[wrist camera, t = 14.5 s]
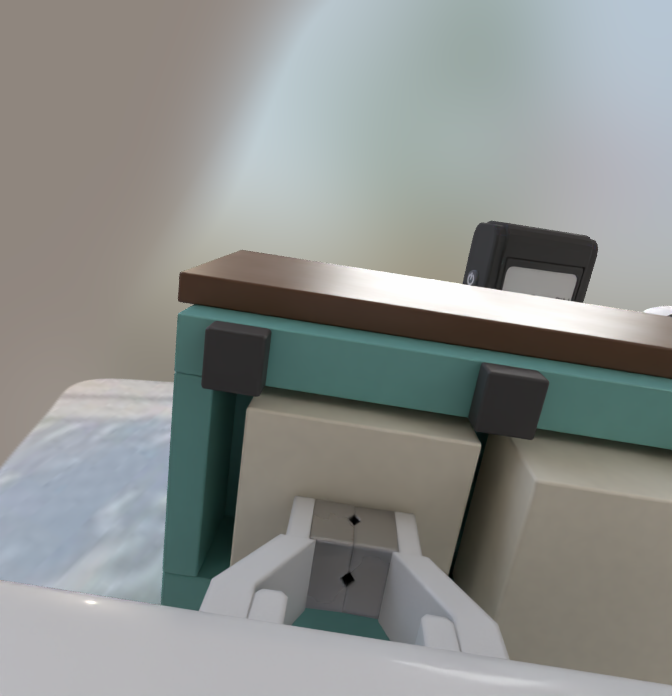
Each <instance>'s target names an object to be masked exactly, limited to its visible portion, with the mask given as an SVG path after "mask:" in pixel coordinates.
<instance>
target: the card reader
mask: <svg viewBox="0 0 672 696" xmlns="http://www.w3.org/2000/svg"><path fill="white" fill-rule="evenodd" d="M597 252H598V246H597V243H596V241H594V240H592V239H590V237H588V236H585V235H579V234H573V233H567V232H560V231H554V230H547V229H541V228H535V227H529V226H523V225H516V224H510V223H503V222H496V221H489V222H487V223H480V224H479V225H478V226H477V228H476V230H475V232H474V236H473V240H472V244H471V249H470V253H469V257H468V262H467V266H466V271H465V275H464V280H463V284H464V285H470V286H477V287H483V288H490V289H496V290H502V291H509V292H515V293H522V294H528V295H535V296H541V297H547V298H554V299H560V300H567V301H573V302H579V303H583V301H584V298H585V294H586V291H587V288H588V284H589V281H590V278H591V274H592V271H593V267H594V264H595V261H596V257H597Z"/></svg>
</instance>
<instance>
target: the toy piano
mask: <svg viewBox="0 0 672 696" xmlns="http://www.w3.org/2000/svg"><path fill="white" fill-rule="evenodd" d="M178 301H179V302H183V303H190V304H194V305H193V306H191V307H189V308H187V309H185V310H184V311H182V312H180V313H179V314H178V320H177V337H176V353H175V374H174V390H173V407H172V423H171V440H170V456H169V473H168V489H167V506H166V522H165V539H164V555H163V576H162V592H161V605H164V606H170V607H176V608H183V609H189V610H196V611H199V609H200V607H201V604H202V602H203V600H204V597H205V595H206V592H207V590H208V587H209V585H210V582H211V580H212V578H214V577H215V576H217V575H219V574H220V573H222V572H223V571H225V570H226V569H228V568H229V567H230V560H231V551H232V542H233V532H234V523H235V513H236V504H237V495H238V485H239V476H240V466H241V457H242V448H243V438H244V429H245V419H246V410H247V408H248V406H249V404H250V402H251V401H252V399H253V397H258V396H260V394H261V392H262V390H263V388H264V387H265V386H269V387H275V388H282V389H288V390H295V391H301V392H307V393H314V394H320V395H326V396H333V397H339V398H346V399H352V400H358V401H365V402H371V403H377V404H384V405H390V406H397V407H403V408H409V409H416V410H422V411H428V412H435V413H441V414H448V415H454V416H460V417H467V418H468V419H469V421H470V423H471V425H472V427H473V429H474V431H475V433H476V435H477V437H478V439H479V441H480V443H481V450H480V454H479V458H478V462H477V466H476V470H475V473H474V477H473V481H472V485H471V489H470V493H469V497H468V501H467V505H466V509H465V512H464V516H463V520H462V524H461V528H460V532H459V536H458V540H457V544H456V547H455V551H454V555H453V559H452V563H451V567H450V571H449V575H448V577H449V578H451V579H452V580H453V581H454V578H453V574H452V573H453V569H454V565H455V561H456V558H457V554H458V550H459V546H460V542H461V538H462V534H463V530H464V527H465V523H466V519H467V515H468V511H469V507H470V503H471V500H472V496H473V492H474V488H475V484H476V480H477V476H478V473H479V469H480V465H481V461H482V457H483V453H484V449H485V446H486V442H487V438H488V434H495V435H501V436H508V437H514V438H520V439H527V440H533V439H534V436H535V432H536V429H543V430H550V431H556V432H562V433H569V434H575V435H581V436H588V437H594V438H600V439H607V440H613V441H620V442H626V443H632V444H639V445H645V446H651V447H658V448H664V449H671V450H672V317H669V316H663V315H656V314H650V313H644V312H637V311H631V310H624V309H618V308H611V307H605V306H599V305H592V304H586V303H579V302H573V301H567V300H560V299H554V298H547V297H541V296H535V295H528V294H522V293H515V292H509V291H502V290H496V289H490V288H483V287H477V286H470V285H464V284H458V283H451V282H445V281H438V280H432V279H426V278H419V277H412V276H406V275H400V274H393V273H387V272H381V271H374V270H368V269H361V268H355V267H349V266H342V265H336V264H329V263H323V262H316V261H310V260H304V259H297V258H291V257H284V256H278V255H272V254H265V253H259V252H251V251H246V250H240V251H237V252H235V253H232V254H229V255H226V256H223V257H221V258H218V259H215V260H213V261H210V262H207V263H204V264H201V265H199V266H196V267H193V268H191V269H188V270H185V271H182V272H180V276H179V292H178ZM291 626H298V627H304V628H310V629H317V630H323V631H329V632H336V633H342V634H349V635H355V636H361V637H368V638H374V639H380V640H387V641H390V640H389V638H388V636H387V635H386V633H385V631H384V630H383V628H382V627H381V625H380V623H379V622H378V619H374V618H369V617H363V616H358V615H353V614H347V613H342V612H334V611H326V610H318V609H310V608H305V610H304V612H303V613H302V614H301V615H300V616H299V617H298V618H297V619H296V620H295V621H294V623H293V624H292V625H291Z"/></svg>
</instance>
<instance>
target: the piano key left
mask: <svg viewBox="0 0 672 696" xmlns="http://www.w3.org/2000/svg"><path fill="white" fill-rule="evenodd" d="M480 450H481V443H480V441H479V439H478V437H477V435H476V433H475V431H474V429H473V427H472V425H471V423H470V421H469V419H468V418H467V417H460V416H454V415H448V414H441V413H435V412H428V411H422V410H416V409H409V408H403V407H397V406H390V405H384V404H377V403H371V402H365V401H358V400H352V399H346V398H339V397H333V396H326V395H320V394H314V393H307V392H301V391H295V390H288V389H282V388H275V387H269V386H265V387H264V388H263V390H262V392H261V394H260V396H258V397H253V399H252V401H251V402H250V404H249V406H248V408H247V410H246V419H245V429H244V438H243V448H242V457H241V466H240V476H239V485H238V495H237V504H236V513H235V523H234V532H233V542H232V551H231V560H230V567H231V566H232V565H234V564H235V563H237V562H238V561H240V560H241V559H243V558H244V557H246V556H248V555H249V554H251V553H252V552H254V551H255V550H257V549H258V548H260V547H261V546H263V545H264V544H266V543H267V542H269V541H270V540H272V539H273V538H275V537H276V536H278V535H280V534H284V535H286V532H287V528H288V523H289V519H290V514H291V510H292V506H293V501H294V498H295V496H302V497H309V498H314V499H315V501H316V499H320V500H326V501H331V502H337V503H343V504H348V505H354V506H356V507H364V508H372V509H379V510H387V511H396V512H405V513H413V514H414V515H415V519H416V524H417V529H418V535H419V540H420V545H421V550H422V556H425V557H429V558H430V559H431V560H432V561H433V562H434V563H435V564H436V565H437V566H438V567H439V568H440V569H441V570H442V571H443V572H444V573H445V574H446V575H447V576H448V575H449V571H450V567H451V563H452V559H453V555H454V551H455V547H456V544H457V540H458V536H459V532H460V528H461V524H462V520H463V516H464V512H465V509H466V505H467V501H468V497H469V493H470V489H471V485H472V481H473V477H474V473H475V470H476V466H477V462H478V458H479V454H480ZM314 506H315V505H314ZM313 513H314V511H313ZM312 519H313V518H312ZM311 526H312V525H311Z"/></svg>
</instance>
